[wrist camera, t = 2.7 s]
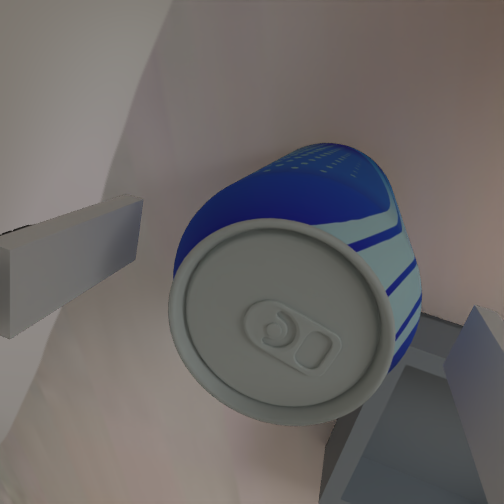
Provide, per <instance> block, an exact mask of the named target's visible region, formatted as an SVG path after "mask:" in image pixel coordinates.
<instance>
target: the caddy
mask: <svg viewBox="0 0 504 504" xmlns="http://www.w3.org/2000/svg"><path fill="white" fill-rule="evenodd" d="M462 328H463V326H461V325H458V324H455V323H452V322H449V321H446V320H443V319H440V318H437V317H434V316H431V315H428V314H425V313H422V312H421V313H420V319H419V323H418V326H417V330H416V333H415V335H414V337H413V340H412V342H411V344H410V346H409V347H408V349H407V351H406V353H405V354H404V356H403V357H402V358H401V360H400V361H399V363H398V364H397V365H396V366H395V367H394V368H393V369H392V370H391V372H389V373H388V374H387V375H386V377H385V378H384V380H383V382H382V383H381V385H380V386H379V388H378V389H377V390H376V392H375V393H374V394H373V395H372V396H371V397H370V398H369V399H368V400H367V401H366V402H365V403H364V404H362V405H361V406H360V407H358V408H357V409H355V410H354V411H352V412H350V413H349V414H347V415H345V416H343V417H340V418H338V419H337V422H336V424H335V426H334V429H333V431H332V433H331V436H330V438H329V440H328V443H327V445H326V447H325V454H324V462H323V470H322V478H321V486H320V494H319V502H318V503H319V504H488V502H487V499H486V496H485V493H484V490H483V487H482V484H481V481H480V478H479V474H478V471H477V468H476V465H475V462H474V459H473V456H472V453H471V450H470V447H469V444H468V441H467V438H466V435H465V432H464V429H463V426H462V423H461V420H460V417H459V414H458V411H457V408H456V405H455V402H454V399H453V396H452V393H451V390H450V387H449V384H448V381H447V378H446V375H445V372H444V369H443V364H444V362H445V360H446V358H447V357H448V355H449V353H450V351H451V349H452V347H453V345H454V343H455V341H456V339H457V338H458V336H459V334H460V332H461V330H462Z"/></svg>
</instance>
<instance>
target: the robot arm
mask: <svg viewBox="0 0 504 504" xmlns="http://www.w3.org/2000/svg"><path fill="white" fill-rule="evenodd" d="M142 207H143V199H141V198H138V197H135V196H132V195H129V194H125V195H122V196H119V197H116V198H113V199H110V200H107V201H104V202H101V203H98V204H95V205H92V206H89V207H86V208H83V209H80V210H77V211H74V212H71V213H68V214H65V215H62V216H59V217H56V218H53V219H50V220H47V221H44V222H41V223H38V224H34V225H26V226H23V227H20V228H17V229H14V230H13V231H8V232H5V233H2V235H0V336H3V337H6V338H8V339H11V338H13V337H14V336H16V335H18V334H19V333H21V332H22V331H24V330H26V329H27V328H29V327H30V326H32V325H33V324H35V323H37V322H38V321H40V320H41V319H43V318H44V317H46V316H48V315H49V314H51V313H52V312H54V311H55V310H57V309H59V308H60V307H62V306H63V305H65V304H66V303H68V302H70V301H71V300H73V299H74V298H76V297H77V296H79V295H81V294H82V293H84V292H85V291H87V290H88V289H90V288H92V287H93V286H95V285H96V284H98V283H99V282H101V281H103V280H104V279H106V278H107V277H109V276H110V275H112V274H113V273H115V272H117V271H118V270H120V269H121V268H123V267H124V266H126V265H128V264H129V263H131V262H132V261H134V260H135V259H136V251H137V244H138V236H139V229H140V221H141V214H142ZM443 369H444V372H445V375H446V378H447V381H448V384H449V387H450V390H451V393H452V396H453V399H454V402H455V405H456V408H457V411H458V414H459V417H460V420H461V423H462V426H463V429H464V432H465V435H466V438H467V441H468V444H469V447H470V450H471V453H472V456H473V459H474V462H475V465H476V468H477V471H478V474H479V478H480V481H481V484H482V487H483V490H484V493H485V496H486V499H487V502H488V504H504V321H503V320H502V318H501V317H500V315H499V314H498V312H496V311H493V310H490V309H487V308H483V307H480V306H477V305H474V307H473V309H472V311H471V313H470V315H469V317H468V319H467V320H466V322H465V324H464V326H463V328H462V330H461V332H460V334H459V336H458V338H457V339H456V341H455V343H454V345H453V347H452V349H451V351H450V353H449V355H448V357H447V358H446V360H445V362H444V364H443Z"/></svg>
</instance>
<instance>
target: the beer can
mask: <svg viewBox="0 0 504 504" xmlns="http://www.w3.org/2000/svg"><path fill="white" fill-rule="evenodd" d="M421 302H422V290H421V279H420V274H419V269H418V265H417V262H416V259H415V256H414V253H413V250H412V247H411V244H410V241H409V238H408V235H407V232H406V229H405V226H404V223H403V220H402V217H401V214H400V211H399V208H398V205H397V202H396V199H395V196H394V193H393V190H392V187H391V185H390V183H389V180H388V179H387V177H386V175H385V174H384V172H383V171H382V169H381V168H380V167H379V166H378V165H377V164H376V163H375V162H374V161H373V160H372V159H371V158H369V157H368V156H367V155H365V154H364V153H362V152H360V151H358V150H356V149H354V148H351V147H348V146H345V145H341V144H334V143H320V144H313V145H309V146H305V147H302V148H300V149H297V150H295V151H293V152H292V153H290V154H288V155H286V156H284V157H282V158H280V159H278V160H277V161H275V162H273V163H271V164H269V165H267V166H265V167H263V168H262V169H260V170H258V171H256V172H254V173H252V174H250V175H248V176H247V177H245V178H243V179H241V180H239V181H237V182H235V183H233V184H231V185H230V186H228V187H226V188H224V189H223V190H221V191H220V192H218V193H217V194H216V195H214V196H213V197H212V198H211V199H210V200H208V201H207V202H206V203H205V204H204V205H203V207H202V208H201V209H200V210H199V211H198V212H197V213H196V214H195V216H194V217H193V218H192V220H191V221H190V223H189V225H188V226H187V228H186V230H185V232H184V234H183V236H182V238H181V241H180V244H179V246H178V250H177V254H176V258H175V263H174V271H173V282H172V286H171V290H170V295H169V302H168V316H169V325H170V331H171V334H172V338H173V341H174V344H175V347H176V349H177V351H178V353H179V355H180V357H181V359H182V361H183V363H184V364H185V366H186V367H187V369H188V370H189V372H190V373H191V374H192V376H193V377H194V378H195V379H196V380H197V382H198V383H199V384H200V385H201V386H202V387H203V388H204V389H205V390H206V391H207V392H209V393H210V394H211V395H212V396H213V397H215V398H216V399H217V400H219V401H220V402H222V403H223V404H225V405H226V406H228V407H229V408H231V409H233V410H235V411H237V412H239V413H241V414H243V415H245V416H248V417H250V418H253V419H256V420H259V421H263V422H266V423H271V424H276V425H284V426H308V425H316V424H321V423H326V422H329V421H332V420H335V419H338V418H340V417H343V416H345V415H347V414H349V413H350V412H352V411H354V410H355V409H357V408H358V407H360V406H361V405H362V404H364V403H365V402H366V401H367V400H368V399H369V398H370V397H371V396H372V395H373V394H374V393H375V392H376V390H377V389H378V388H379V386H380V385H381V383H382V382H383V380H384V378H385V377H386V375H387V374H388V373H389V372H391V370H392V369H393V368H394V367H395V366H396V365H397V364H398V363H399V361H400V360H401V358H402V357H403V356H404V354H405V353H406V351H407V349H408V347H409V346H410V344H411V342H412V340H413V337H414V335H415V333H416V330H417V326H418V323H419V319H420V313H421Z"/></svg>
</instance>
